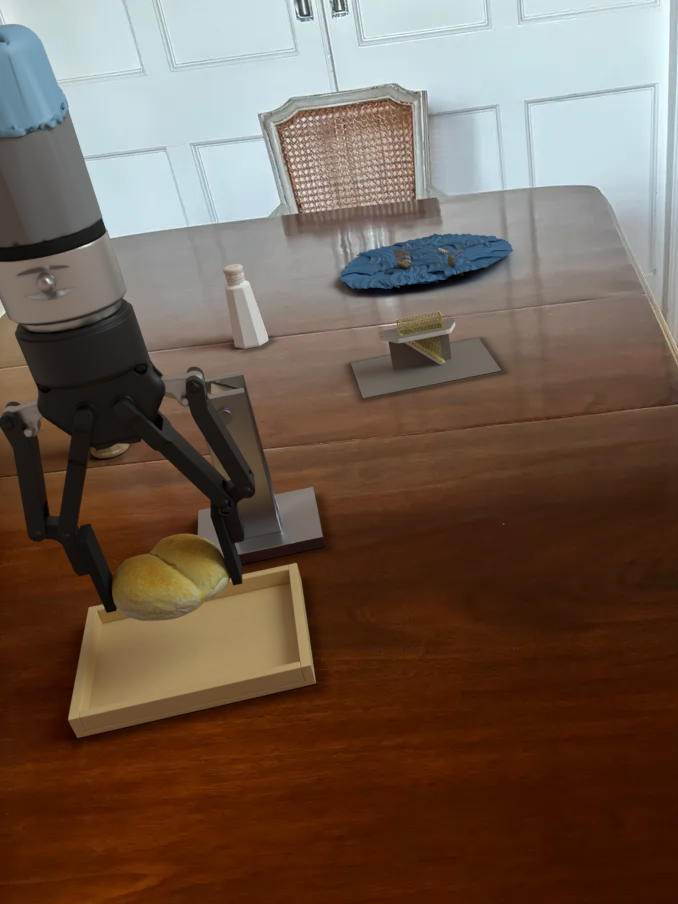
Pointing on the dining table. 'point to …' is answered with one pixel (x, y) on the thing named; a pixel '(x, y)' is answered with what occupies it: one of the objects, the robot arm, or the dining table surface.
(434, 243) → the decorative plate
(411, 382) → the platform
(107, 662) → the wooden tray
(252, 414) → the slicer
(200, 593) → the bread roll
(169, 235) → the dining table surface
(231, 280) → the pepper shaker
